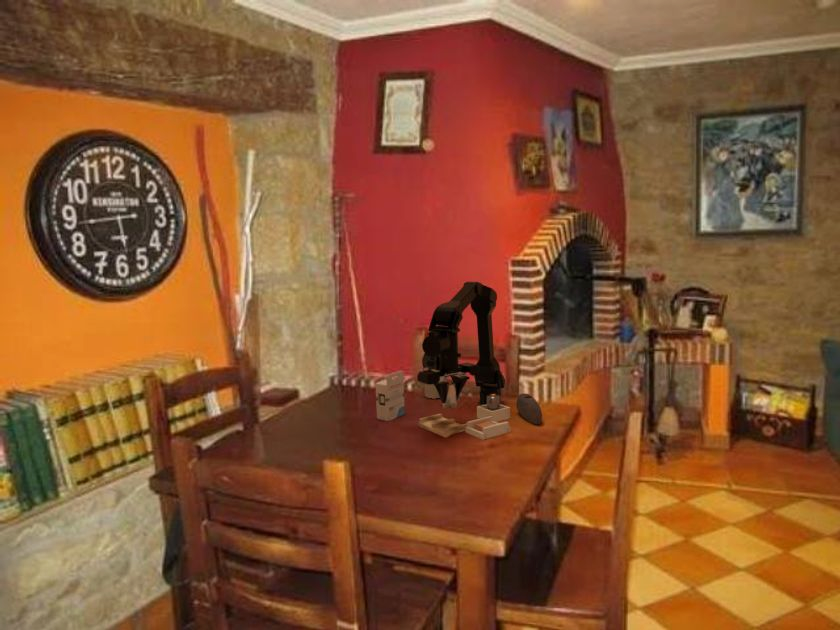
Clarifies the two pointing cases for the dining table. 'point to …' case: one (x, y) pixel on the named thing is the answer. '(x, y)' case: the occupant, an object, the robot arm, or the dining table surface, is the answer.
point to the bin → (494, 413)
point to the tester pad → (483, 425)
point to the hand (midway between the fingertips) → (449, 401)
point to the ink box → (390, 397)
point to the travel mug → (432, 385)
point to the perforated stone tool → (529, 408)
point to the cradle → (487, 428)
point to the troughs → (441, 425)
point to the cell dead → (493, 402)
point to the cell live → (450, 396)
